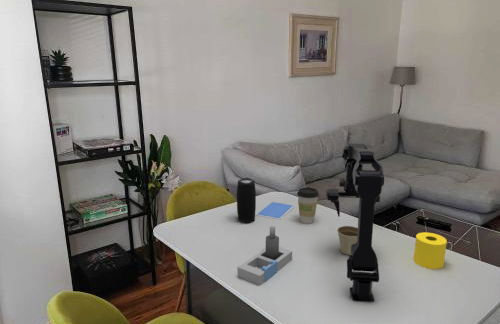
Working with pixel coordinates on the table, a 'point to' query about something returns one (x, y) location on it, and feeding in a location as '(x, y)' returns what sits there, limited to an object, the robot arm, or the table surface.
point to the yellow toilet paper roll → (430, 250)
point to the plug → (272, 245)
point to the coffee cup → (307, 204)
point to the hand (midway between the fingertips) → (351, 216)
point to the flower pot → (347, 238)
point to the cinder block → (263, 266)
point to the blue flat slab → (275, 210)
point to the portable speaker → (246, 200)
